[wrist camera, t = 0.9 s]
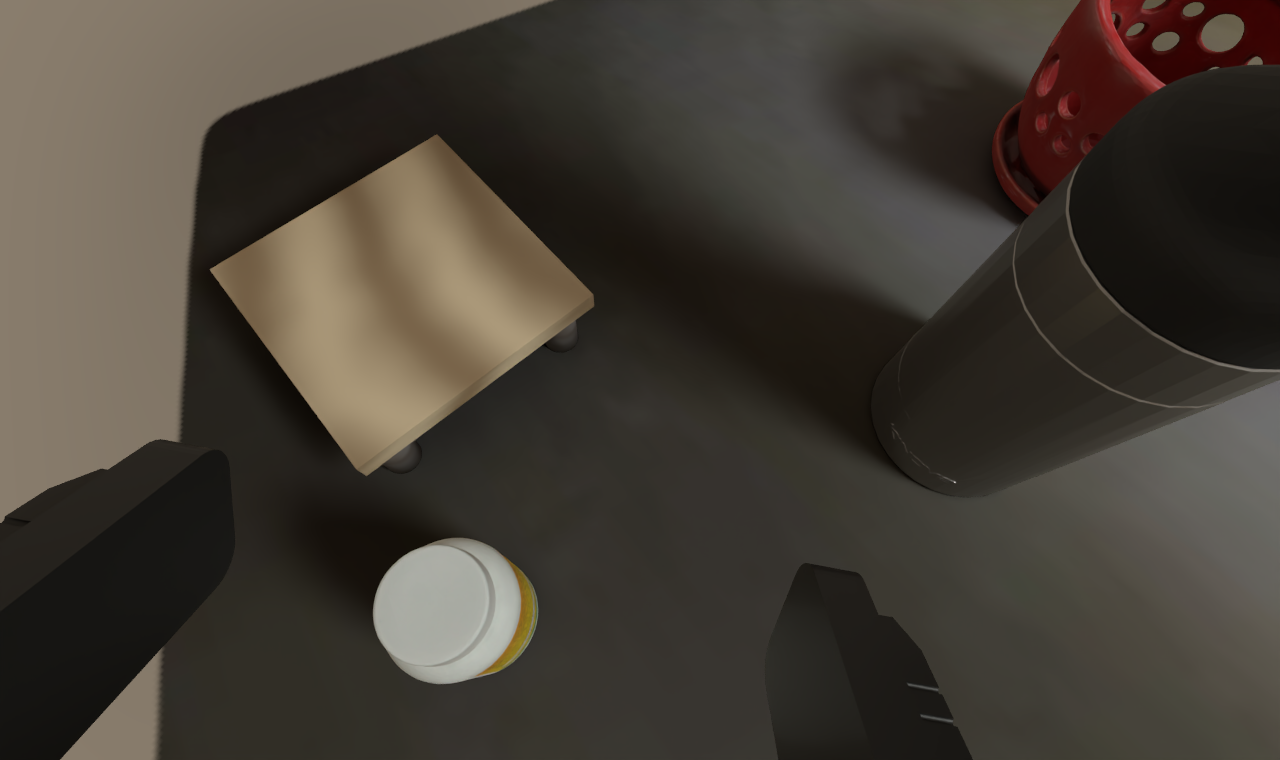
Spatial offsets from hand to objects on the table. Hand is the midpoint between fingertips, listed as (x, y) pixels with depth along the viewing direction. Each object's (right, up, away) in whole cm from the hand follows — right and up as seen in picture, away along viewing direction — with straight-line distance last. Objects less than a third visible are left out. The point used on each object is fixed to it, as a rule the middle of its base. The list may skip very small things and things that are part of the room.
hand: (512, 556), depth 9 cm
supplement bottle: (-6, -9, +22) cm, 25 cm away
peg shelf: (-11, +6, +28) cm, 31 cm away
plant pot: (+31, +16, +34) cm, 49 cm away
